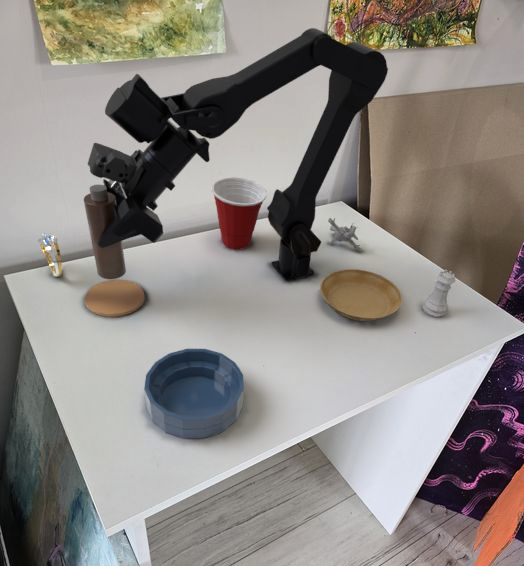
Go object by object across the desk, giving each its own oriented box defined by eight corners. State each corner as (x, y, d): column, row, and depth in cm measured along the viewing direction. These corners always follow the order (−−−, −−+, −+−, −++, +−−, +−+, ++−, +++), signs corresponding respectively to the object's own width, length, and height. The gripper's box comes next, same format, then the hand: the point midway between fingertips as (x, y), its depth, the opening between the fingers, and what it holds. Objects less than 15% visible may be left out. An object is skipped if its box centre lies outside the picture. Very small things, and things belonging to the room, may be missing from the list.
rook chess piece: (446, 319, 88) (462, 283, 83) (421, 315, 89) (435, 278, 83) (444, 305, 91) (459, 269, 86) (420, 301, 92) (433, 264, 87)
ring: (70, 282, 88) (61, 243, 83) (51, 286, 87) (41, 247, 81) (59, 263, 92) (50, 224, 87) (41, 267, 91) (31, 228, 86)
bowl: (135, 385, 71) (132, 363, 68) (219, 361, 76) (220, 339, 73) (165, 454, 63) (163, 432, 60) (257, 422, 68) (260, 400, 65)
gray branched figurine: (358, 235, 109) (374, 242, 101) (340, 255, 110) (354, 264, 102) (328, 204, 105) (342, 208, 97) (309, 225, 106) (322, 232, 98)
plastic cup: (244, 263, 97) (247, 206, 89) (200, 245, 101) (199, 189, 93) (272, 241, 104) (277, 187, 96) (230, 225, 108) (232, 171, 100)
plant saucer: (380, 340, 83) (384, 328, 81) (303, 307, 88) (305, 296, 86) (409, 298, 92) (413, 287, 90) (339, 271, 97) (341, 260, 96)
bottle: (106, 261, 84) (92, 178, 74) (131, 267, 83) (120, 184, 73) (92, 275, 81) (75, 191, 71) (117, 282, 80) (103, 197, 70)
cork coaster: (79, 289, 87) (79, 286, 87) (135, 277, 91) (135, 275, 90) (92, 322, 81) (92, 319, 80) (152, 308, 84) (151, 306, 84)
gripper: (106, 103, 74) (45, 182, 78) (130, 150, 61) (56, 240, 65) (162, 152, 82) (104, 221, 85) (193, 202, 69) (124, 280, 73)
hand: (97, 238), depth 77 cm, fingers closed on bottle, 4 cm apart
